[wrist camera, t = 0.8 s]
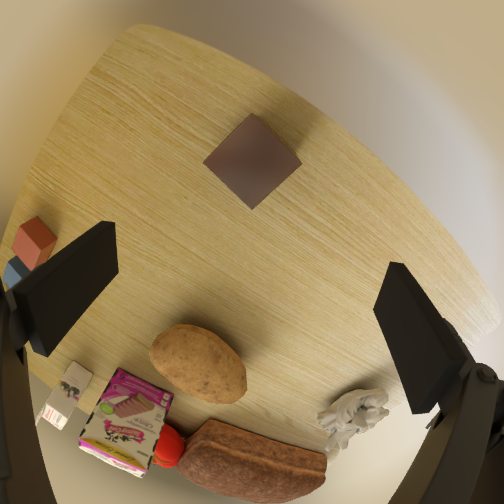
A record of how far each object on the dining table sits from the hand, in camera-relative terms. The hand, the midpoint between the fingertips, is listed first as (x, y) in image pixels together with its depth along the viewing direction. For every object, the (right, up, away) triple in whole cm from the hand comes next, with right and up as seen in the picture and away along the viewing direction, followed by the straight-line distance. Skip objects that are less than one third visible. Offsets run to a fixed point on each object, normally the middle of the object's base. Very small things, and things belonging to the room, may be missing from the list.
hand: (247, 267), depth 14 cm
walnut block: (+1, +11, +16) cm, 20 cm away
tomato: (-19, -35, +39) cm, 55 cm away
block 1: (-36, -2, +25) cm, 44 cm away
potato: (-6, -12, +28) cm, 31 cm away
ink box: (-34, -24, +35) cm, 54 cm away
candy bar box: (-19, -23, +33) cm, 45 cm away
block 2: (-31, +3, +23) cm, 38 cm away
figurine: (+17, -24, +31) cm, 43 cm away
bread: (+1, -42, +40) cm, 58 cm away
